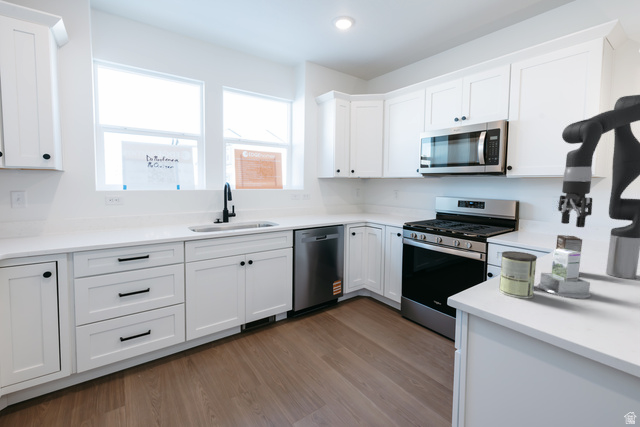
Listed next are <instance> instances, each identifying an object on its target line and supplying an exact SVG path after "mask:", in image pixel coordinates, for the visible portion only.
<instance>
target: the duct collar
mask: <svg viewBox="0 0 640 427" xmlns="http://www.w3.org/2000/svg"><path fill="white" fill-rule="evenodd" d="M551 275H552V272H541V273H540V278H539V279H540V280H539V283H538V284H537V287H538V289H540V290H541V291H543V292H544V293H545V292H546V293H548V294H551V295H554V294H555V296H558V295H559V297H563V296H564V297H563V298H568V297H571V299H578V298H585V299H589V298H590V297H591V293H590V287H591V282H590V281H588V280H585V279H582V278H580V277H578V281H560V280H558V279H556V278H554V277H552V276H551ZM588 297H589V298H588Z"/></svg>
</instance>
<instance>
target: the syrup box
mask: <svg viewBox="0 0 640 427" xmlns="http://www.w3.org/2000/svg"><path fill="white" fill-rule="evenodd" d="M581 255H582V251H581V252H576V251H572V250H567V249H556V248H555V249H553V255H552V265H551V266H552V267H551V273H552V275H551V276H552V277H554V278H556V279H558V280H560V281H578V278H579V274H580V264H581Z"/></svg>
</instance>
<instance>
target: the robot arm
mask: <svg viewBox="0 0 640 427" xmlns="http://www.w3.org/2000/svg"><path fill="white" fill-rule="evenodd" d="M635 122H640V94H634V95H623V96H621V97H619V98H618V99H617V100H616V102H615V104H614V106H613V109H611V110H606V111H604V112H601V113H599V114H596V115H594V116H592V117H590V118H587V119H582V120H579V121H575V122H572V123H570V124H568V125H567V126H565V128H564V129H563V131H562V133H561V134H562V135H561V138H562V140H563V141H564V142H565V143H566V144H570V145H571V144H573V145H574V144H581V145H580V146H579V147H578V148H576V149H573V150H570V151H568V152H567V154H566V156H565V157H566V158H565V169H564V172H563V179H562V180H563V181H562V193H563V194H565V195H560V196H559V201H558V208H557V210H558V211H559V212H560V214H561V224H566V225H567V224H570V217H571V212H572V210H573V211H574V212H575V213H576V215H577V216H576V223H575V227H576V228H584V227H585V225H586V217H588V216H592V210H593V209H592V208H593V197H586V195H588V194H590V192H591V186H592V176H593V171H592V169H593V167H592V165H593V158H594V153H595V151H596V149H597V147H598V144H599V142H600V140H601V138H602V136H603V135H604V134H605V133H608V132H610V131H612V130H613V133H614V135H613V136H614V138H613V139H614V142H613V153H612V154H613V156H612V172H611V173H612V174H611V175H612V177H611V178H612V179H611V180H612V182H611V192H610V197H609V206H608V217H609V218H610V219H612V220H616V221H617V220H618V221H619V220H620V221H629V222H630V221H631V223H630V224H627V225H625V226H624V225H623V226H620V227H613V228H611V230H610V235H609V247H608V254H607V261H606V262H607V263H606V269H605V270H606V271H605V274H606V275H609V276H613V277H616V278H617V277H618V278H623V279H632V280H633V279H634V280H635V279H636V278H637V274H638V267H639V265H638V264H639V257H640V198H625V197H624V198H621V196H622V194H623V193H624V192H625V190H626V189H627V187H629V186H630V185H631V184H632V183H633V182H634V181H635V180H636V179H637V178H639V176H640V141H639V139H637V138H636V136H635V134H634V132H633V131H632V125H631V123H635Z"/></svg>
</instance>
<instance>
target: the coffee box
mask: <svg viewBox="0 0 640 427" xmlns="http://www.w3.org/2000/svg"><path fill="white" fill-rule="evenodd" d="M556 238H557V239H556V244H555V245H556V247H555V249H567V250H572V251H576V252H581V253H582V246H583V239H582V238H579V237H577V236H574V235H563V234H562V235H561V234H558V235H557V237H556Z"/></svg>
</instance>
